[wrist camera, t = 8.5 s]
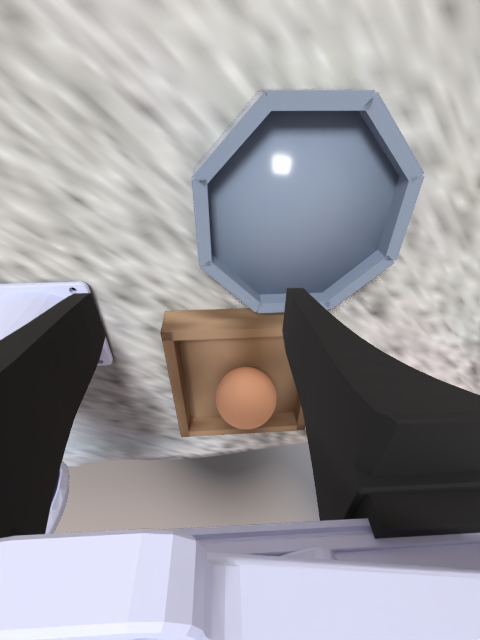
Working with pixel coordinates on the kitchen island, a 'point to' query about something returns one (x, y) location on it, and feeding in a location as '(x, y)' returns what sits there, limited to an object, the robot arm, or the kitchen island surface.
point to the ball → (246, 398)
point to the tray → (226, 366)
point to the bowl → (304, 196)
